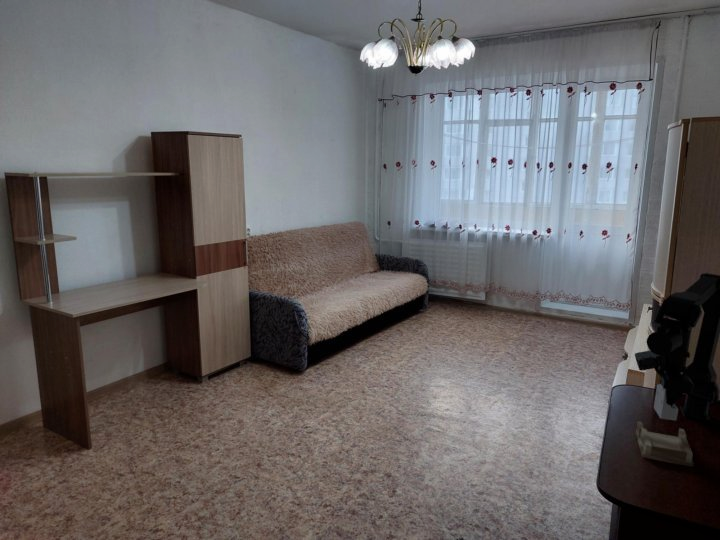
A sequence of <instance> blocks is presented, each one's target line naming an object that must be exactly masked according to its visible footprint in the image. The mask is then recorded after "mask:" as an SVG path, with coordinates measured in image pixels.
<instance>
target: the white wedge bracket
mask: <svg viewBox="0 0 720 540" xmlns="http://www.w3.org/2000/svg"><path fill="white" fill-rule="evenodd" d="M653 404H654V405H653V409H654V411H655V413H657V415H658V417H659V418H660V419H661V420H669V421H678V419H677V418H678V415H679V414H678V413H679V408H678V406H677V405H676V403H674V404H673V405H672V406H670V405H668V404H667V403H666V390H665V389H664V388H663V386H662V385H661V383H658V384H657V386H656V390H655V398H654V403H653Z"/></svg>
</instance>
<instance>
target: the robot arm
mask: <svg viewBox="0 0 720 540" xmlns="http://www.w3.org/2000/svg"><path fill="white" fill-rule="evenodd" d="M660 305H661V306H660V308H659V310H658V313H657V315H656V317H655V320H654V323H655V324H659V325H660V326H658V327H657V329H656V331H654V332H652V333H649V335H648V336H647V338H646V346H647V348H648V349H649V350H644V351H639V352H636V353H635V352H634V358H635V362H636V364H637V365H636V366H637V368H638V371H643V372H644V371H647V370H653V369H654V371H655V372H656V374H658V376H659V379H660V380H659V382H660V383H659V384H661V385H662V386H663V388H664V389H665V390H666V403H667V404H668V405H670V406H672V405H673V404H676V402H677V401H678V400H679V399H680V397H682V396H683V394H685V401H684V406H682V405H680V407H679V408H680V410H681V413H682V415H683V417H684V418H686V419H692V420H697V421H703V422H712V419H711V417H710V416H709V413H708V412H709V407H710V404H713V403H719V400H720V399H719V398H720V389H719V386H718V383H717V378H718V375H717V373H716V370H715V369H714V366H713V363H714V359H715V355H716V352H717V348H718V342H719V339H720V338H719V337H720V274H714V273H709V272H708V273H707V272H705V273H701V274H700V276H699V278H698V279H697V280H696V281H694V282H693V284H692V285H690V286H689V287H688V288H687V289H686V290H684V291H680V292H674V293H671V294H669V295H668V296H667V297H666V298H665V299H664V300H663V301H662V303H661V304H660ZM702 314H703V317H702V321H701V325H700V329H699V334H698V338H697V342H696V348H695V351H694V356H693V360H692V362H691V363H690V364H689V365H687V361H688V360H687V359H689V358H690V357H691V353H690V352H689V349H690V344H691V343H690V342H691V338H692V337H691V336H692V329H694V328H696V327H697V326H696V325H698V322H699V320H700V318H701V316H702Z"/></svg>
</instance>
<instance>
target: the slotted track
mask: <svg viewBox="0 0 720 540" xmlns="http://www.w3.org/2000/svg"><path fill="white" fill-rule="evenodd" d="M635 434H636V438H637V439H638V440H637V443H638V448H639V450H640V453H641V457H642V458H644V459H650V460H655V461H660V462H665V463H671V464H675V465H682V466H686V467H692V468H693V467H694V464H695V463H694V461H693V451H692V449H691V446H690V444H689V442H688V440H687V438H688V437H687V434H686V431H685V429H683V428H678V433H677V436H676V435H675V436H674V435H669V434H664V433H658V432H652V431H648V430H647V429H646V428H645V427H644V425H643V422H642V421H637V425H636V429H635Z"/></svg>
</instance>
